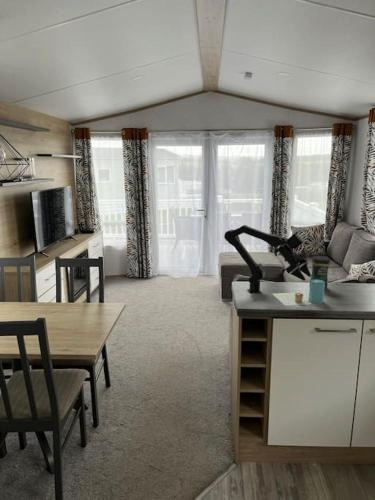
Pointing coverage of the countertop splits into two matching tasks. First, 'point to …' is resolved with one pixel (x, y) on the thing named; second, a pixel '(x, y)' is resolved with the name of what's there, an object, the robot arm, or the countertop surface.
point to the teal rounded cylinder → (316, 291)
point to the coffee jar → (320, 269)
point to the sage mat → (289, 299)
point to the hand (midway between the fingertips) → (307, 278)
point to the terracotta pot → (298, 297)
